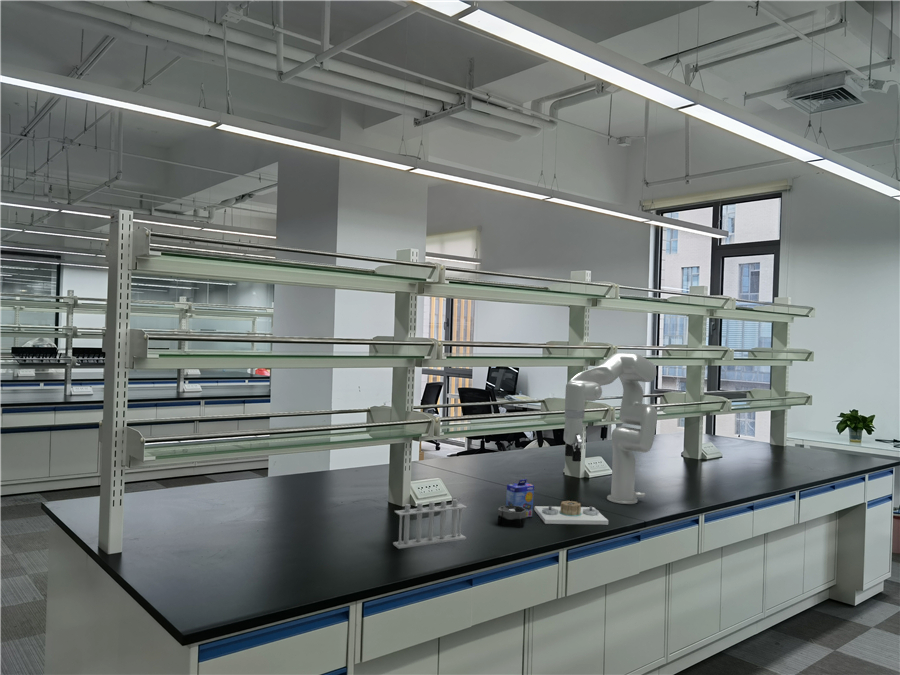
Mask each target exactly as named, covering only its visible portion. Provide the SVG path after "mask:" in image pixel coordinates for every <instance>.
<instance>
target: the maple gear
mask: <svg viewBox="0 0 900 675" xmlns="http://www.w3.org/2000/svg"><path fill="white" fill-rule="evenodd" d="M560 502H561V503H560V507H561V509H560V512H561V513H563V514H565V515H572V516H574V515H580V511H581V507H582V504H581V502H578V501H573V500H571V501H570V500H564V501H563V500H562V501H560ZM569 503H573V504H569Z"/></svg>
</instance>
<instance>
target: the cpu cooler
mask: <svg viewBox="0 0 900 675" xmlns="http://www.w3.org/2000/svg"><path fill="white" fill-rule="evenodd" d="M496 514H497V515H498V516H497V525H498V526H501V527H502V526H503V527H510V528H524V526H525V522H526V518H527V517H526V509H525V508H523V507H520V506H511V505H507V506H506V505H502V506H499V507H498V508H497V512H496Z"/></svg>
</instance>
